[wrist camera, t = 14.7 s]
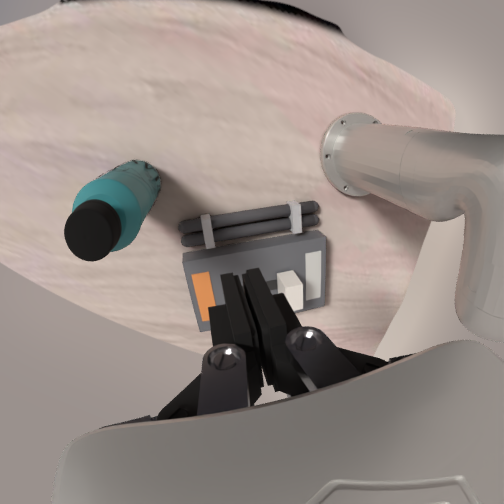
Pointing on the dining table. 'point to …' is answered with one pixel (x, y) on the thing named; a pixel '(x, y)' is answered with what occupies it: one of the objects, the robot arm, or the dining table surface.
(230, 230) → the dressed cords
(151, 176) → the beverage bottle
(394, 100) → the dining table surface
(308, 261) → the panel
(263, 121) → the dining table surface
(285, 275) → the block
